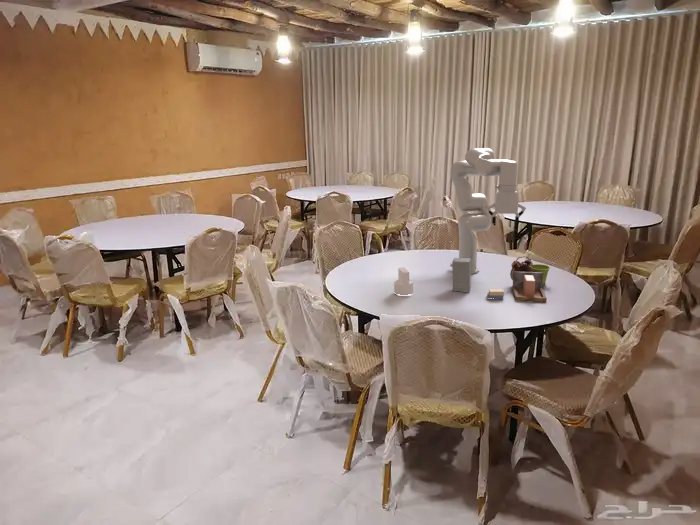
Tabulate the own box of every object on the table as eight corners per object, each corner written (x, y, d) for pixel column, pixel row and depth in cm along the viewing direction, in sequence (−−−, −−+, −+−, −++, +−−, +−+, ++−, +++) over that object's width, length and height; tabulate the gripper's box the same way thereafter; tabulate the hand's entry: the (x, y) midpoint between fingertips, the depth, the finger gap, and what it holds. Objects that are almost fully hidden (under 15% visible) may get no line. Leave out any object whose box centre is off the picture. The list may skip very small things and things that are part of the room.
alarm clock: (528, 283, 254) (530, 254, 250) (533, 286, 249) (535, 257, 245) (508, 285, 252) (510, 256, 248) (513, 288, 248) (515, 258, 244)
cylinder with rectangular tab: (415, 296, 240) (415, 272, 237) (396, 297, 238) (396, 273, 235) (410, 290, 248) (410, 266, 245) (392, 291, 247) (392, 268, 244)
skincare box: (470, 288, 248) (471, 257, 244) (469, 293, 242) (470, 261, 237) (453, 287, 251) (454, 256, 247) (451, 292, 244) (452, 260, 240)
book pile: (487, 299, 233) (487, 291, 232) (487, 296, 237) (487, 288, 236) (503, 300, 231) (504, 292, 230) (503, 297, 235) (503, 289, 234)
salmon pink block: (525, 297, 233) (526, 280, 231) (523, 290, 241) (524, 274, 239) (534, 297, 232) (535, 280, 230) (531, 291, 240) (533, 275, 238)
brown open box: (515, 300, 230) (516, 282, 228) (512, 289, 246) (513, 271, 244) (546, 302, 227) (547, 283, 225) (541, 290, 243) (542, 272, 241)
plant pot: (550, 286, 249) (551, 269, 246) (530, 285, 251) (531, 269, 248) (547, 280, 257) (548, 264, 255) (527, 280, 259) (528, 263, 257)
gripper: (487, 189, 229) (486, 226, 234) (528, 189, 225) (525, 227, 230) (487, 187, 236) (485, 223, 241) (526, 187, 233) (523, 224, 237)
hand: (505, 225), depth 235 cm, fingers open, 9 cm apart
